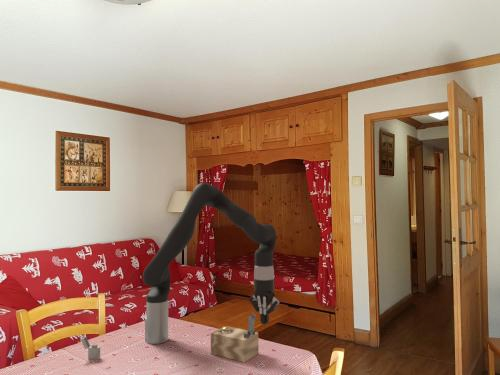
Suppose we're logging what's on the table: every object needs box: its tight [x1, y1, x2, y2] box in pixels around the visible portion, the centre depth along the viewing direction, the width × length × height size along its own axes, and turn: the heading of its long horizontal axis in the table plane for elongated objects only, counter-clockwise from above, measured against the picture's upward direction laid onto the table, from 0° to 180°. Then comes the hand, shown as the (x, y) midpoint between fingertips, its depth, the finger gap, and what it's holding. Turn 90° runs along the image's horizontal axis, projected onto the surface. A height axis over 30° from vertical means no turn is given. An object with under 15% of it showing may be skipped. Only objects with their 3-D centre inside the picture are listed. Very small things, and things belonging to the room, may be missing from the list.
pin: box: [221, 325, 232, 334], centre depth 152 cm, size 3×3×10 cm
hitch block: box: [210, 326, 260, 363], centre depth 150 cm, size 16×10×10 cm, turn 57°
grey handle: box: [247, 313, 257, 336], centre depth 146 cm, size 8×4×1 cm
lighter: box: [80, 336, 101, 360], centre depth 147 cm, size 7×2×8 cm, turn 85°
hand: (264, 323), depth 142 cm, fingers closed
